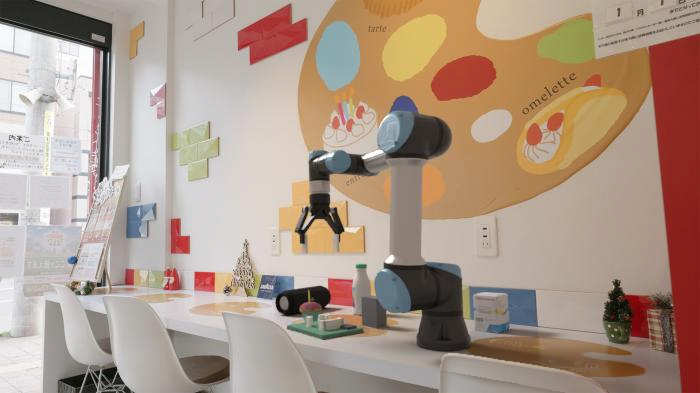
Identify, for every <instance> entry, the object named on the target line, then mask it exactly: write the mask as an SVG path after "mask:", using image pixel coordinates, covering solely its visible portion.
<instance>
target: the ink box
mask: <svg viewBox="0 0 700 393" xmlns="http://www.w3.org/2000/svg"><path fill="white" fill-rule="evenodd" d="M508 296H509V295H508V293H504V292H487V291H483V292H477V293H476V294H475V293H474V294H472V301H473V303H472V304H473V318H474V321H473V322H474V331H476V330H481V331H480V332H484V331H490V332H489V333H492V332H498V333H497V334H500V333H499V332H501V333H503V332H502V331H504V332H505V330H506V331H508V330H507V329H509V328H511V327H510V325H511V324H510V314H509V313H510V310H509V298H508ZM509 330H510V329H509Z"/></svg>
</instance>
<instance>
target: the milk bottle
mask: <svg viewBox="0 0 700 393" xmlns="http://www.w3.org/2000/svg"><path fill="white" fill-rule="evenodd" d="M367 266H368V265H367V263H357V264H355V275H354V278H353V280H352V287H351V289H352V290H351V291H352V292H351V294H352V299H351V300H352V314H354V315H359V316H362V297H363V296H371V295H372V285H371V284H372V283H371V280H370V277H369V276H368V273H367V270H368V269H367V268H368V267H367Z"/></svg>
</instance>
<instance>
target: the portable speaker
mask: <svg viewBox="0 0 700 393" xmlns="http://www.w3.org/2000/svg"><path fill="white" fill-rule="evenodd" d="M308 289H309V291H310V302H316V303H318V304H320V305H321V307H322V309H323V308H325V307H327V306H328V305H329V304H330V302H331V300H332V295H331V294H332V293H331V291H330V290H329V289H328V287H325V286H323V285H314V286H308V287H301V288H294V289H287V290H283V291H281V292H280V293H278V294H277V296H276V298H275V301H274V302H275V308H276V310H277V312H278V313H280V314H281V315H284V316H292V315H297V314H302V312H300V306H301V305H302V304H304V303H306V302H309V300H308Z"/></svg>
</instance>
